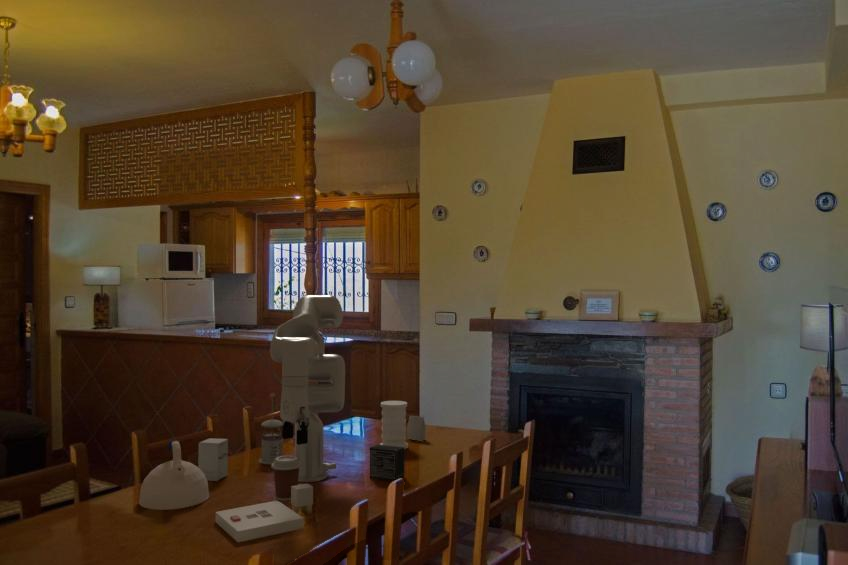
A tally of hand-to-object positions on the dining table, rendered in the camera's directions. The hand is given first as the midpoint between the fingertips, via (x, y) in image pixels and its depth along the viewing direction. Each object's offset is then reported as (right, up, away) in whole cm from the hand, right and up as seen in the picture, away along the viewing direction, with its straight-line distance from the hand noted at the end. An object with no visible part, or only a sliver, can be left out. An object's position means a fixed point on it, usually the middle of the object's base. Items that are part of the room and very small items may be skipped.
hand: (294, 441), depth 198 cm
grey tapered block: (+34, -21, +91) cm, 100 cm away
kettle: (-38, -20, +10) cm, 45 cm away
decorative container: (+25, -21, +78) cm, 84 cm away
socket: (-7, -20, -12) cm, 25 cm away
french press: (-19, -21, +57) cm, 64 cm away
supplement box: (-34, -21, +34) cm, 52 cm away
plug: (+2, -20, -2) cm, 20 cm away
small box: (+25, -21, +34) cm, 47 cm away
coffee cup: (-5, -20, +12) cm, 24 cm away
